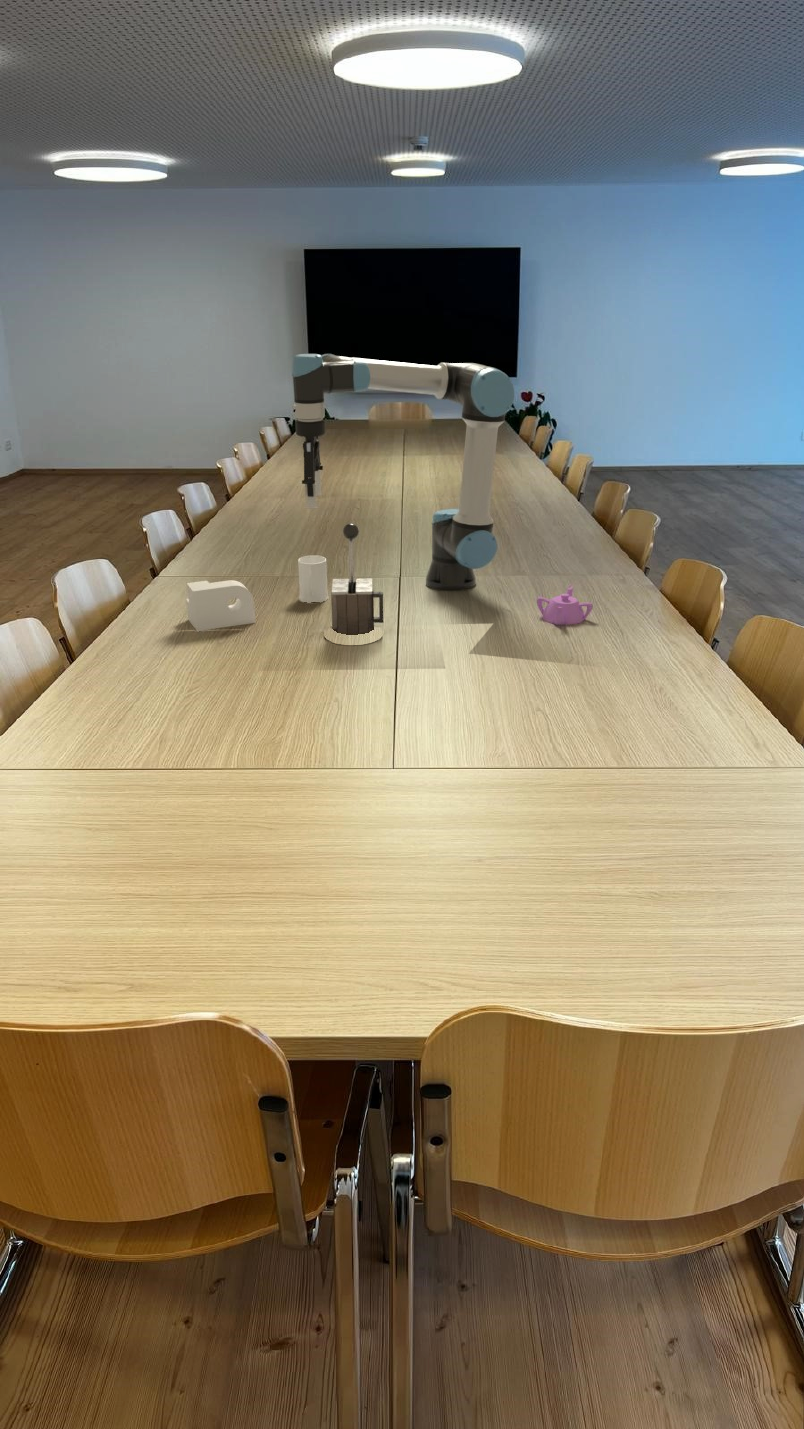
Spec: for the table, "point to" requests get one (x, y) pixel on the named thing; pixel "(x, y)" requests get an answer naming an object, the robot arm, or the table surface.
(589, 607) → the teapot
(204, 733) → the table surface
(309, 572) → the mug
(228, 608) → the tape dispenser
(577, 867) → the table surface
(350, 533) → the plunger
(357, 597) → the wooden tankard
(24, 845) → the table surface
